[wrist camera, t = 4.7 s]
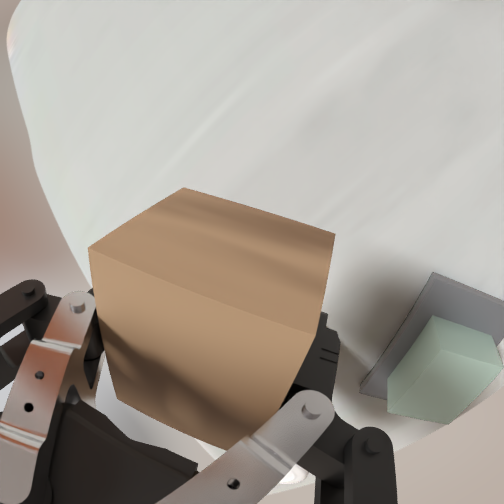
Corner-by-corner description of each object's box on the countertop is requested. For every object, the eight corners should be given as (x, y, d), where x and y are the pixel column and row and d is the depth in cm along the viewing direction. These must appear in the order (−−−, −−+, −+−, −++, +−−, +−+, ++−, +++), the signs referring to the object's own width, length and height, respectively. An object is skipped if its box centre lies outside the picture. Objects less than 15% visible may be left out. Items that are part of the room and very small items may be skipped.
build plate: (432, 271, 21) (447, 310, 17) (516, 306, 19) (536, 343, 15) (360, 385, 28) (356, 425, 24) (437, 404, 26) (441, 441, 22)
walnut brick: (183, 187, 11) (88, 247, 7) (335, 233, 10) (315, 335, 6) (173, 324, 15) (117, 398, 10) (283, 366, 14) (250, 459, 10)
